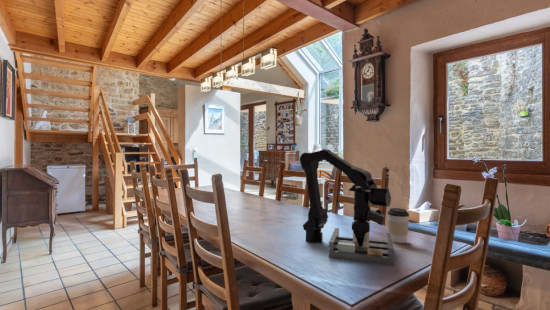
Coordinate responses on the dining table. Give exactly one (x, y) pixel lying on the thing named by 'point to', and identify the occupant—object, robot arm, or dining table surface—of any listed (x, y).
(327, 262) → the dining table surface
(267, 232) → the dining table surface
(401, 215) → the coffee cup
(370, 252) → the offcut
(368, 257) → the rack
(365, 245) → the birch panel
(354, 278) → the dining table surface
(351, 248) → the offcut
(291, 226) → the dining table surface
